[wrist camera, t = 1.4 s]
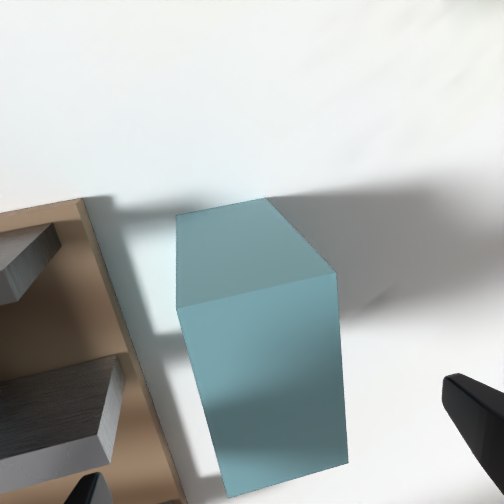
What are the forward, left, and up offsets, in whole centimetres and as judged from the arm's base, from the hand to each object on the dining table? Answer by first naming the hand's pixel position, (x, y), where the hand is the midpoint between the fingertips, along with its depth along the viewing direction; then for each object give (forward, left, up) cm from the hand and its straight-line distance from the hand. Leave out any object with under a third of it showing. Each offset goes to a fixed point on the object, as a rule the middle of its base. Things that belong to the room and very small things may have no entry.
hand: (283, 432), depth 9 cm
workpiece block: (0, 0, -9) cm, 9 cm away
